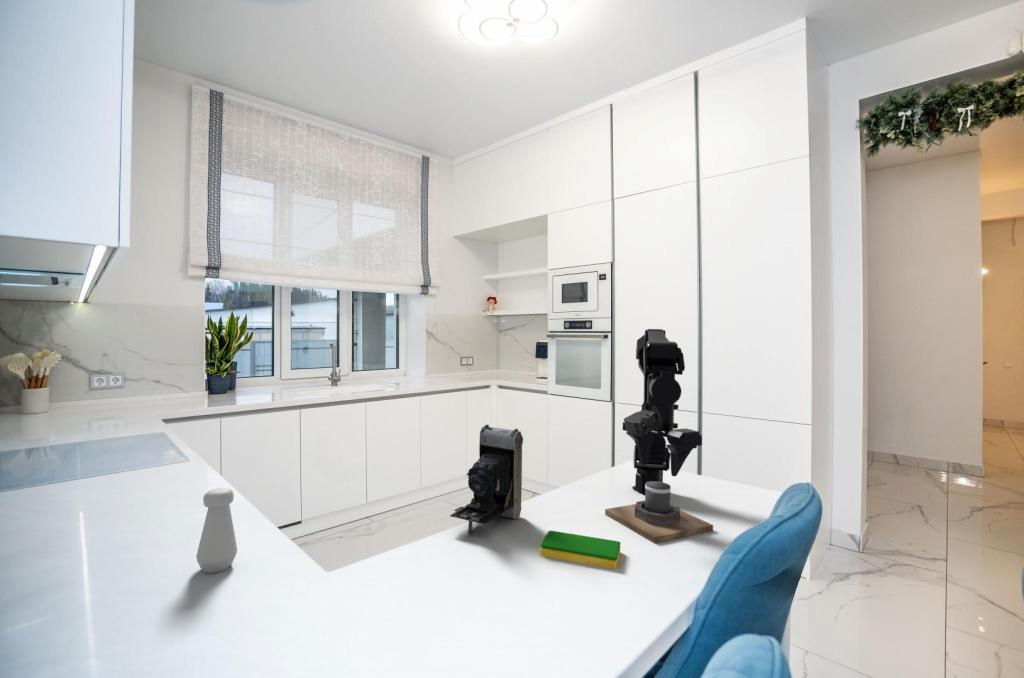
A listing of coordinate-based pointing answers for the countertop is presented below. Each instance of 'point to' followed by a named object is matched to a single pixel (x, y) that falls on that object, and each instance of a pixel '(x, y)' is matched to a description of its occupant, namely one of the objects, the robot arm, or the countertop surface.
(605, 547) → the dish sponge
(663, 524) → the mount
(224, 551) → the salt shaker
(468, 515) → the vintage camera
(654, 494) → the lens
